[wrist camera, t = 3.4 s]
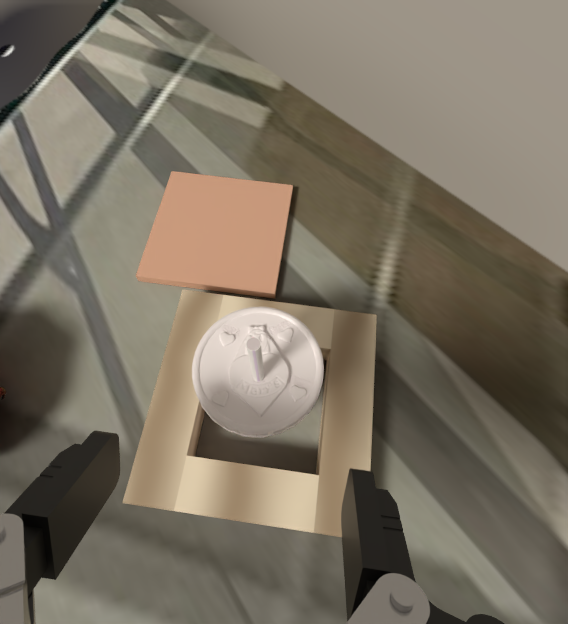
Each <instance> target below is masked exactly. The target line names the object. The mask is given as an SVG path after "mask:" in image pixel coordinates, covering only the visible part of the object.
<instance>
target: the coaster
mask: <svg viewBox="0 0 568 624" xmlns="http://www.w3.org/2000/svg"><path fill="white" fill-rule="evenodd" d="M292 193H293V185H285V184H277V183H268V182H260V181H251V180H243V179H234V178H225V177H217V176H208V175H200V174H191V173H182V172H174V171H172V172H171V175H170V178H169V181H168V184H167V187H166V190H165V192H164V195H163V198H162V201H161V204H160V207H159V210H158V213H157V216H156V219H155V221H154V224H153V227H152V230H151V233H150V236H149V239H148V242H147V245H146V247H145V250H144V253H143V256H142V259H141V262H140V265H139V268H138V271H137V274H136V277H137V279H138V280H139V281H143V282H150V283H158V284H166V285H174V286H181V287H189V288H197V289H204V290H212V291H220V292H227V293H235V294H243V295H251V296H258V297H266V298H274V299H275V295H276V289H277V283H278V277H279V271H280V265H281V259H282V253H283V247H284V241H285V235H286V229H287V223H288V217H289V211H290V205H291V199H292Z"/></svg>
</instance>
